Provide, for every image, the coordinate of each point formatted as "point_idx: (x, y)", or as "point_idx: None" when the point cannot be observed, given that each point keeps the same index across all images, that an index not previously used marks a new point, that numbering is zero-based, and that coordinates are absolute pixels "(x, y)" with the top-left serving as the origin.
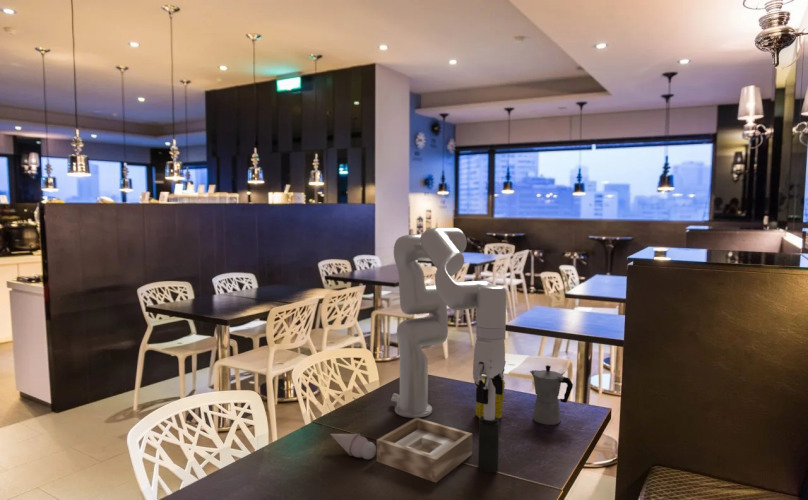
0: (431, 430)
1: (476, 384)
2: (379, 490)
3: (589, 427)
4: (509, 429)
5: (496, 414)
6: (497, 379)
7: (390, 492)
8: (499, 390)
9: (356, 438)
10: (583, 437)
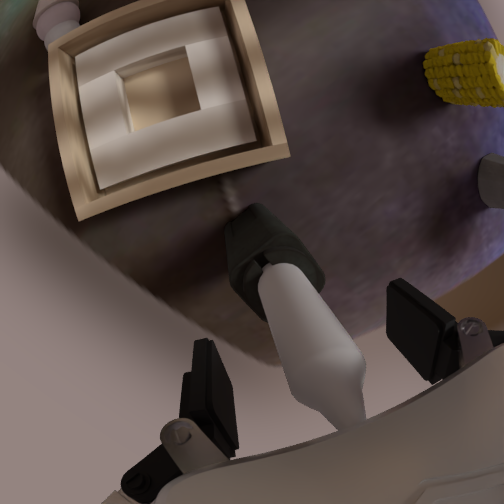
0: (237, 34)
1: (140, 470)
2: (16, 170)
3: (494, 250)
4: (432, 145)
5: (450, 99)
6: (438, 363)
7: (25, 187)
8: (397, 341)
9: (41, 16)
10: (468, 267)
